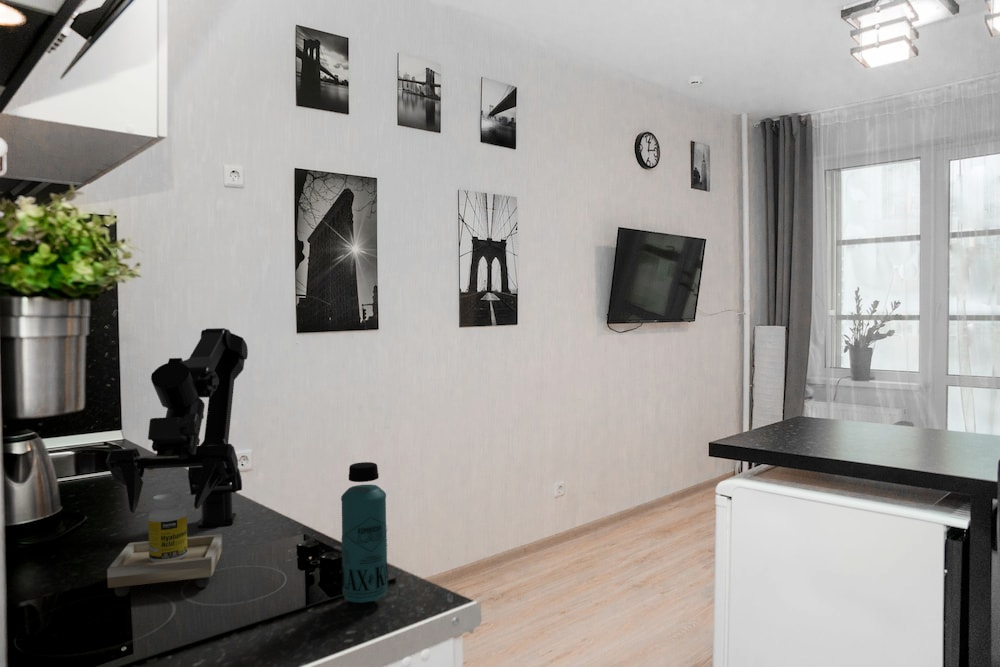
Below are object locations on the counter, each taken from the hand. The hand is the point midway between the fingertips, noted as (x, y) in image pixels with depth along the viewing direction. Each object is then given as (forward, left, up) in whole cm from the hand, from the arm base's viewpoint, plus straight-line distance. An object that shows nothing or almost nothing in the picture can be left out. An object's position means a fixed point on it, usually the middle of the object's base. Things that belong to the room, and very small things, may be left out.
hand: (164, 509), depth 105 cm
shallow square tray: (-1, 0, -12) cm, 12 cm away
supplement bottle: (-2, 0, -8) cm, 8 cm away
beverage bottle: (+17, +29, -12) cm, 36 cm away
